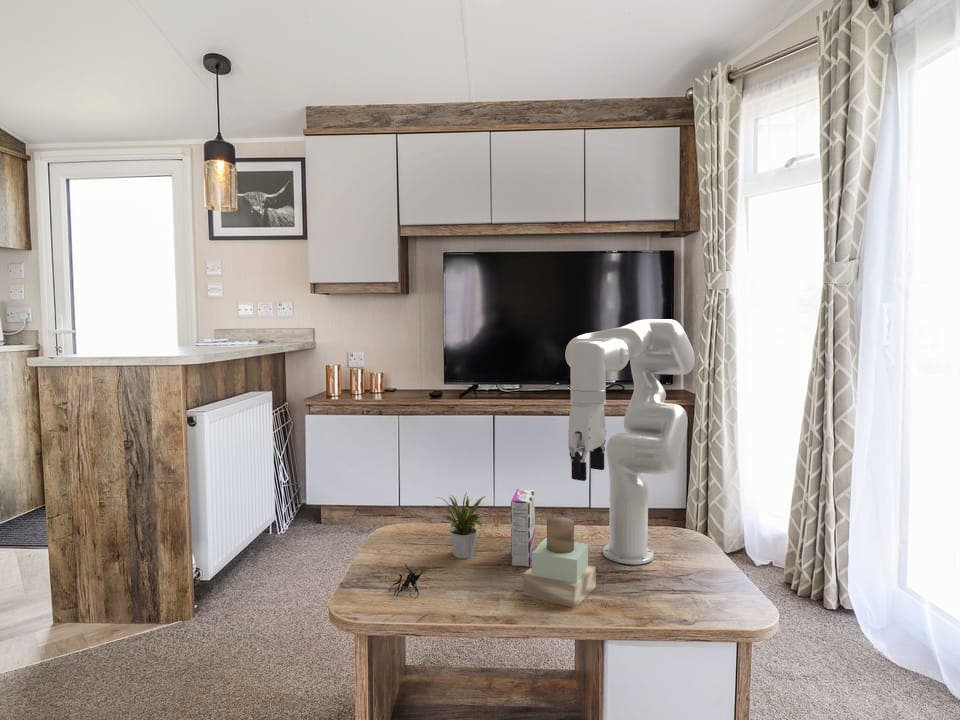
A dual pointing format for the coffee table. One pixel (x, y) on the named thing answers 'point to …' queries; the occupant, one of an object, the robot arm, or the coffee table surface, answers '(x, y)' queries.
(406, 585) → the creature
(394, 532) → the coffee table surface
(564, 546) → the walnut cylinder
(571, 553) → the tower top
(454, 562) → the coffee table surface
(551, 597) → the tower base
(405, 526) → the coffee table surface
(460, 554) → the house plant
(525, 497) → the candy bar box
